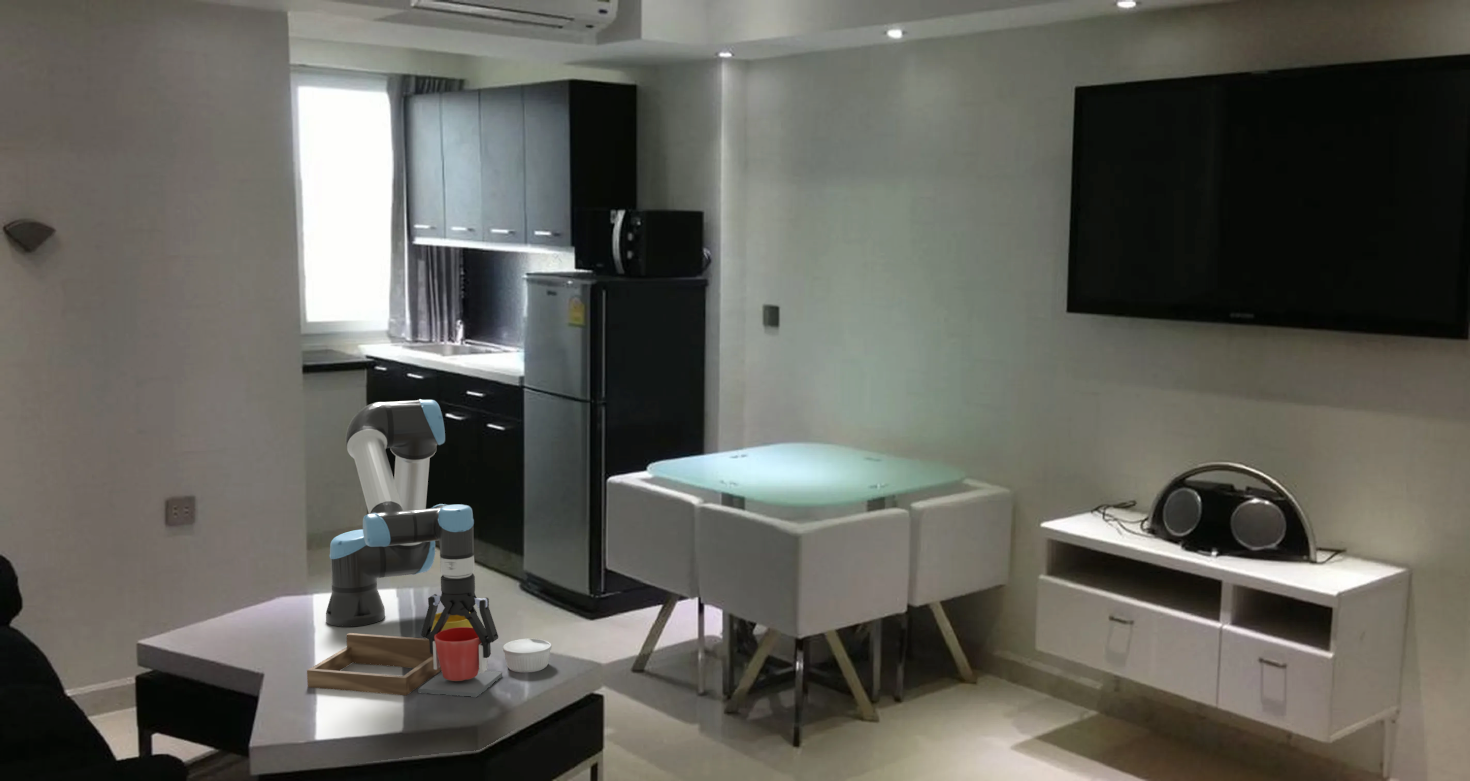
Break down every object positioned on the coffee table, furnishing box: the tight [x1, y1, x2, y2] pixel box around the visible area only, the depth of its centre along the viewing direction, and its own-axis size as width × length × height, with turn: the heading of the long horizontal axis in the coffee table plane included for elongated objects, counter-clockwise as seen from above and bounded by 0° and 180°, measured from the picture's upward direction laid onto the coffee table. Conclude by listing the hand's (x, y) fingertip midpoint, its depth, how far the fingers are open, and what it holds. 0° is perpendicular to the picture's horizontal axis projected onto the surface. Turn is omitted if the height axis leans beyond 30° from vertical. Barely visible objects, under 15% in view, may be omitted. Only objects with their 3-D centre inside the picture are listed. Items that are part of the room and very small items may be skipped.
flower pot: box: [434, 627, 482, 681], centre depth 286 cm, size 11×11×10 cm
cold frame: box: [306, 632, 442, 696], centre depth 291 cm, size 18×24×7 cm
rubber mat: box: [417, 669, 503, 698], centre depth 287 cm, size 14×14×1 cm
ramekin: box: [502, 637, 552, 673], centre depth 299 cm, size 11×11×5 cm
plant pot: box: [431, 611, 473, 631], centre depth 307 cm, size 10×10×10 cm
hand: (460, 669), depth 286 cm, fingers closed on flower pot, 10 cm apart
